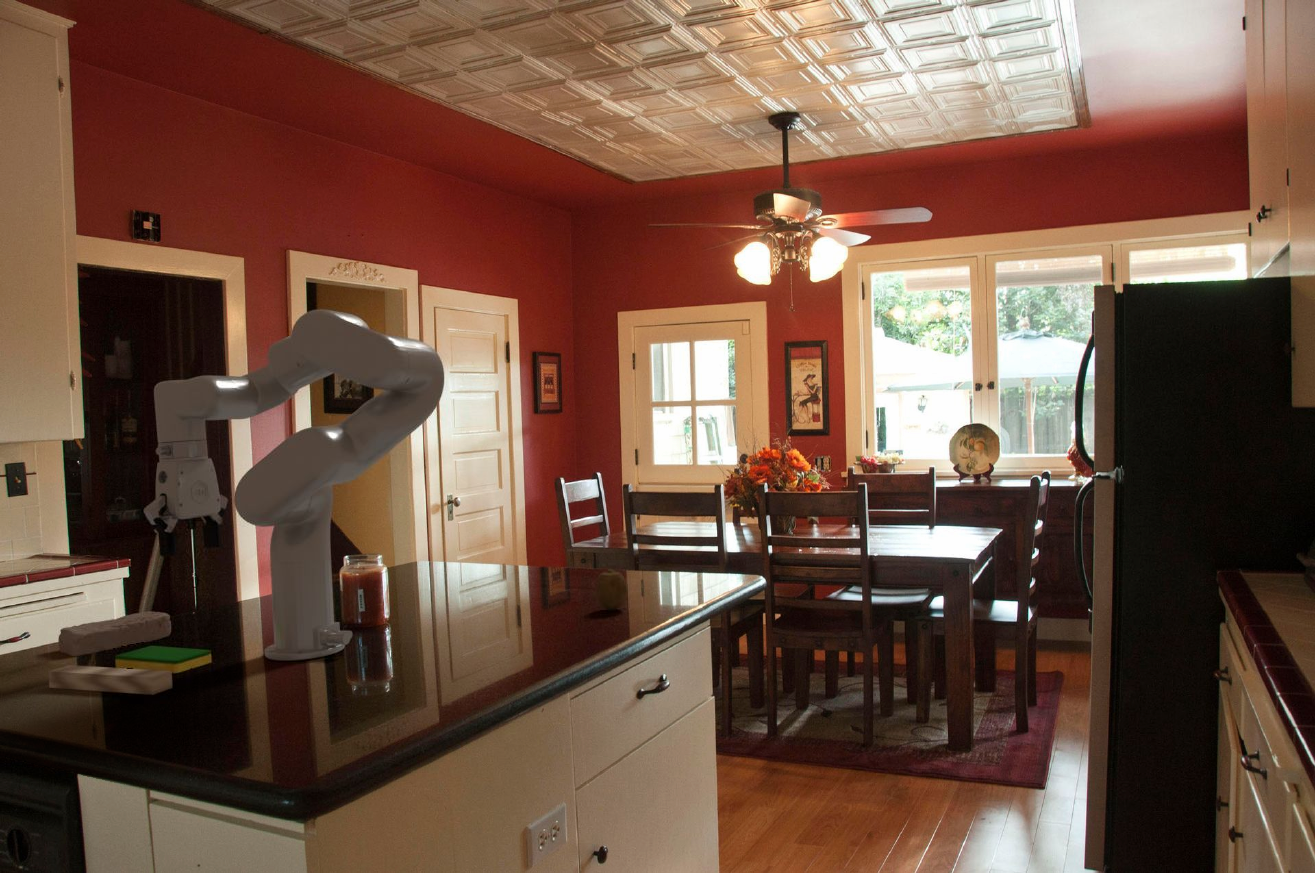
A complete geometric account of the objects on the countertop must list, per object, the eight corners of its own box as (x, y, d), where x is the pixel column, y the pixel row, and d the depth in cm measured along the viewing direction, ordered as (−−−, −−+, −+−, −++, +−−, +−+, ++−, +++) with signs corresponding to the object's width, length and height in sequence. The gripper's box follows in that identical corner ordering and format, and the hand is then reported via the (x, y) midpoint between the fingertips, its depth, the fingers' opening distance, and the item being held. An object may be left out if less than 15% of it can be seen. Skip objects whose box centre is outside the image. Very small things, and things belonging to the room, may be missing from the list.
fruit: (628, 606, 190) (626, 565, 190) (628, 612, 184) (626, 570, 184) (596, 607, 190) (594, 567, 190) (595, 614, 184) (593, 572, 184)
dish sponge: (152, 659, 164) (151, 645, 164) (213, 664, 159) (212, 649, 159) (114, 670, 158) (113, 655, 158) (176, 675, 152) (175, 660, 152)
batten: (172, 687, 143) (171, 670, 143) (153, 694, 140) (152, 677, 140) (70, 681, 150) (69, 665, 150) (49, 687, 146) (48, 671, 146)
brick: (76, 658, 167) (74, 631, 167) (56, 652, 172) (55, 626, 172) (173, 639, 180) (172, 613, 179) (152, 634, 185) (151, 609, 185)
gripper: (159, 453, 157) (168, 559, 158) (237, 448, 174) (245, 543, 174) (124, 456, 160) (132, 560, 160) (204, 451, 176) (212, 544, 176)
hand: (191, 551), depth 167 cm, fingers open, 9 cm apart
